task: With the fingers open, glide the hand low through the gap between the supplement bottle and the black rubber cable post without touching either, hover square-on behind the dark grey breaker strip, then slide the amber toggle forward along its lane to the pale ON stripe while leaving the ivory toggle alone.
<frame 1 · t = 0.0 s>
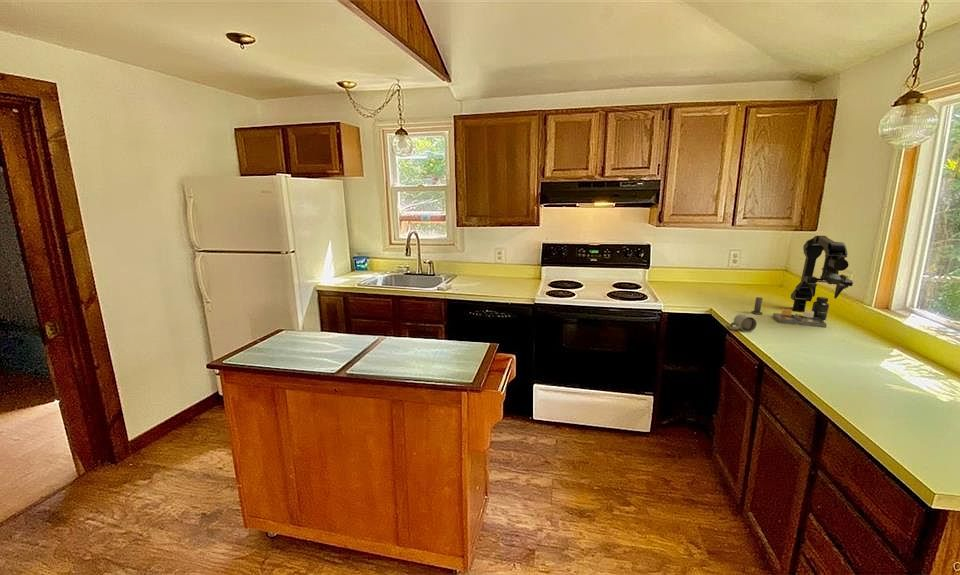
hand: (824, 297, 215), 15 cm above the worktop, fingers open, 9 cm apart
amber toggle: (786, 311, 227), point 4 cm above the worktop, slide at 0.0 cm
ivory toggle: (808, 313, 223), point 4 cm above the worktop, slide at 0.0 cm
supplement bottle: (817, 319, 228), on the worktop
ceramic mug: (740, 330, 209), on the worktop
cable post: (756, 313, 237), on the worktop
breaker panel: (798, 321, 223), on the worktop
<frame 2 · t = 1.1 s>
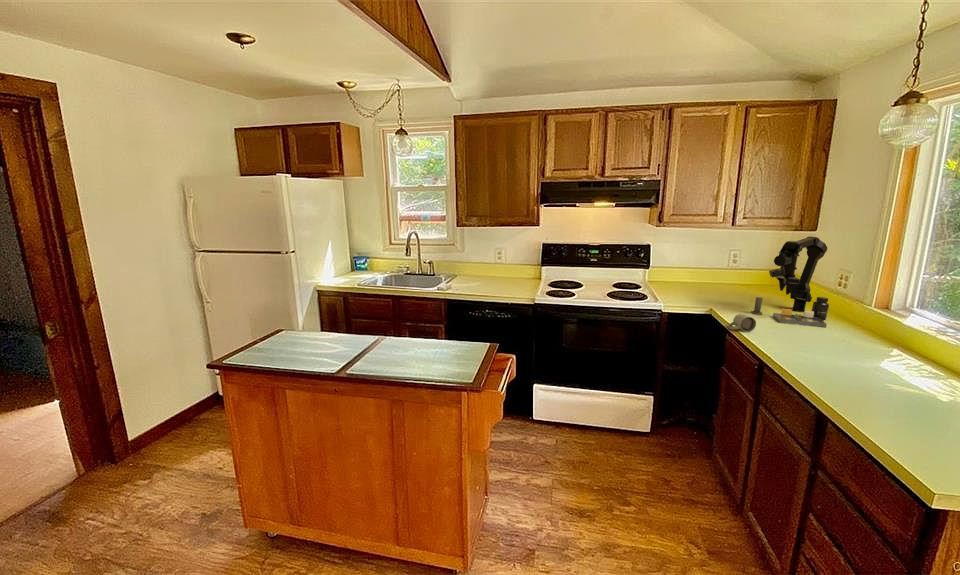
hand: (784, 292, 233), 12 cm above the worktop, fingers open, 9 cm apart
nothing on the worktop moved.
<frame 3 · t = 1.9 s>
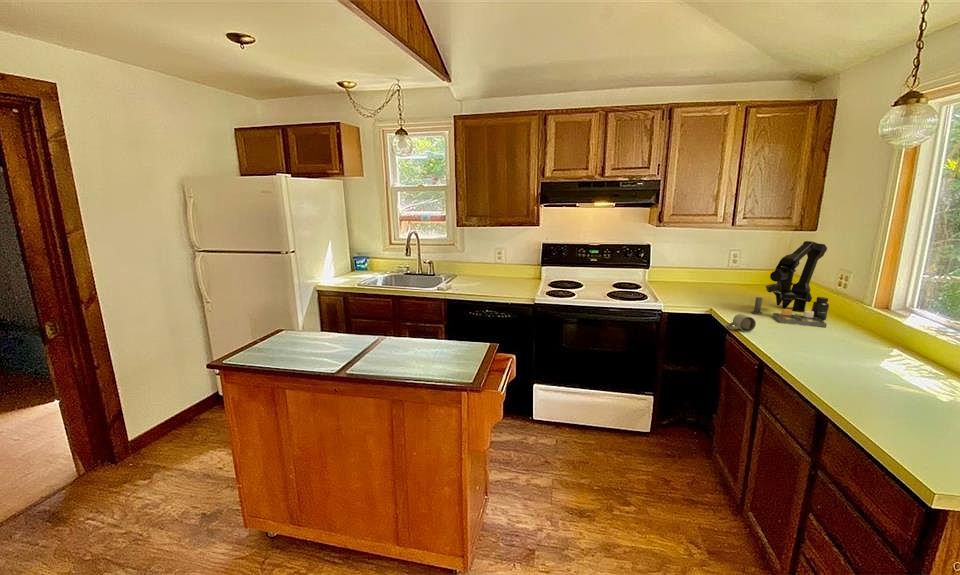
hand: (780, 307, 236), 4 cm above the worktop, fingers open, 9 cm apart
nothing on the worktop moved.
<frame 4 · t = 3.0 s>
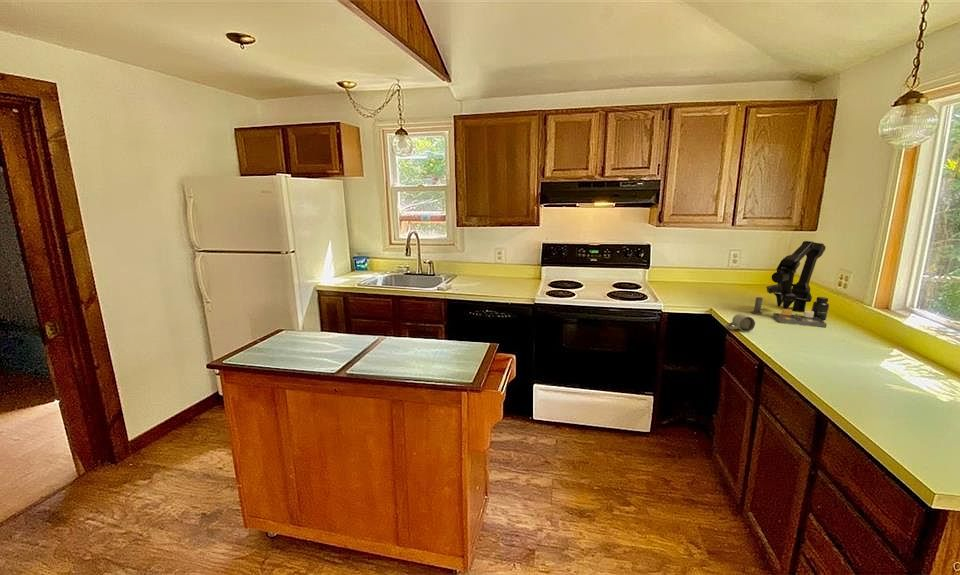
hand: (781, 308, 235), 3 cm above the worktop, fingers open, 9 cm apart
nothing on the worktop moved.
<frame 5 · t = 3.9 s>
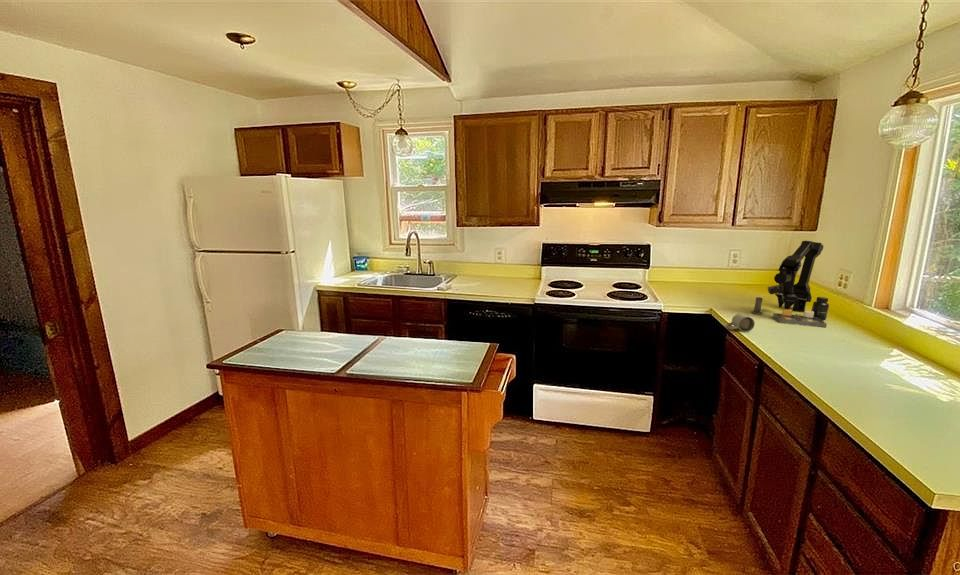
hand: (782, 309, 232), 4 cm above the worktop, fingers open, 9 cm apart
amber toggle: (786, 312, 226), point 4 cm above the worktop, slide at 0.6 cm, touching gripper
everything else where it was.
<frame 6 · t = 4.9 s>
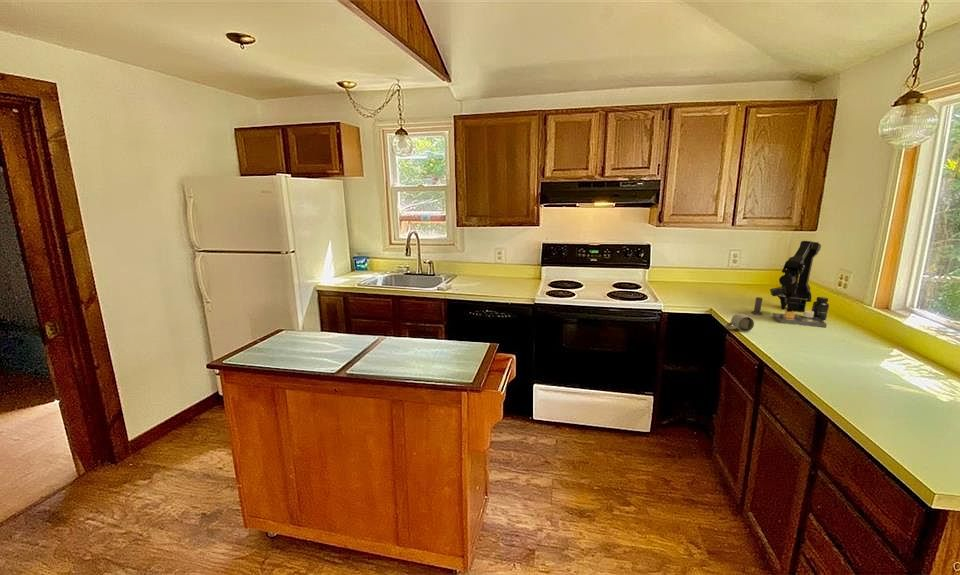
hand: (785, 311, 228), 4 cm above the worktop, fingers open, 9 cm apart
amber toggle: (789, 314, 222), point 4 cm above the worktop, slide at 5.1 cm, touching gripper
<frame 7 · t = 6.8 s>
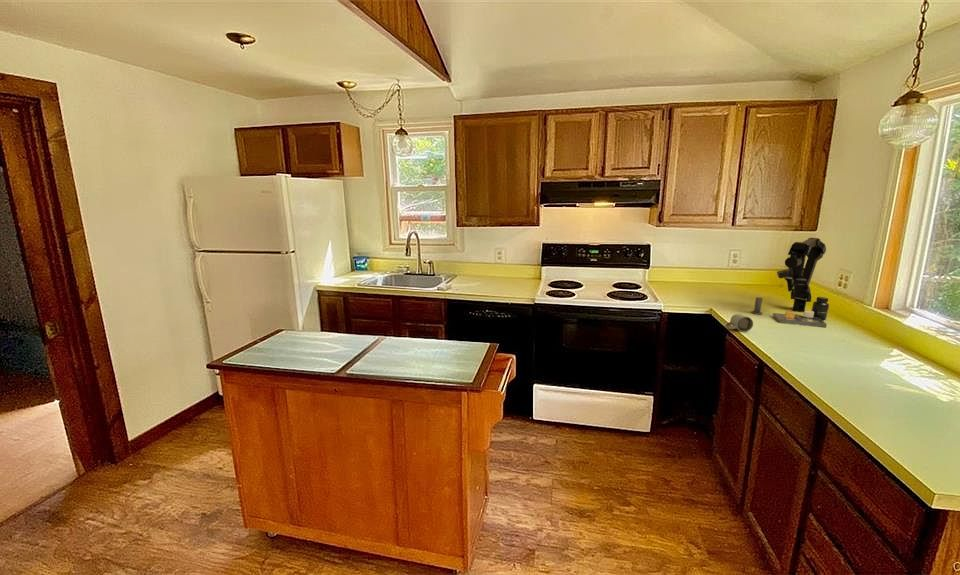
hand: (792, 293, 233), 12 cm above the worktop, fingers open, 9 cm apart
amber toggle: (789, 314, 222), point 4 cm above the worktop, slide at 5.1 cm
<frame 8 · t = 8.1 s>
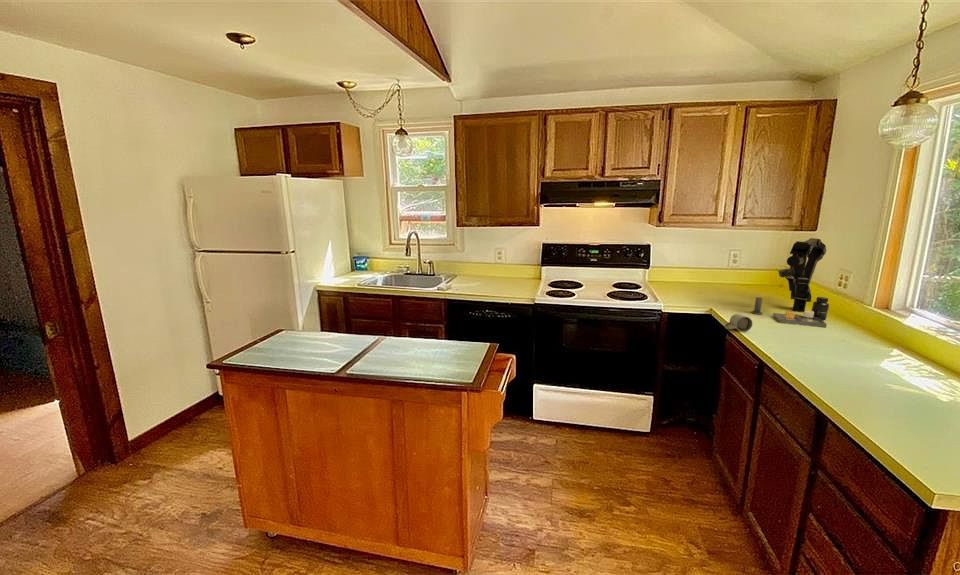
hand: (793, 292, 233), 13 cm above the worktop, fingers open, 9 cm apart
at the end: amber toggle slide at 5.1 cm; ivory toggle slide at 0.0 cm; supplement bottle moved 0.2 cm from its start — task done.
